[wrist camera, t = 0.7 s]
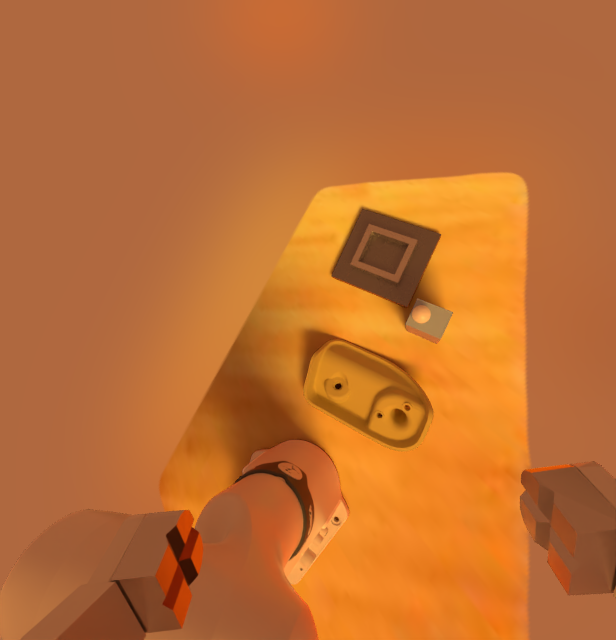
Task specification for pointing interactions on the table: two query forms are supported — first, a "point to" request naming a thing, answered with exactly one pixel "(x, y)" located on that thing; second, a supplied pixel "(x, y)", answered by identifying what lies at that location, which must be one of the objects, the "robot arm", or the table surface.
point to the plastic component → (368, 395)
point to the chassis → (386, 257)
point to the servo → (428, 321)
